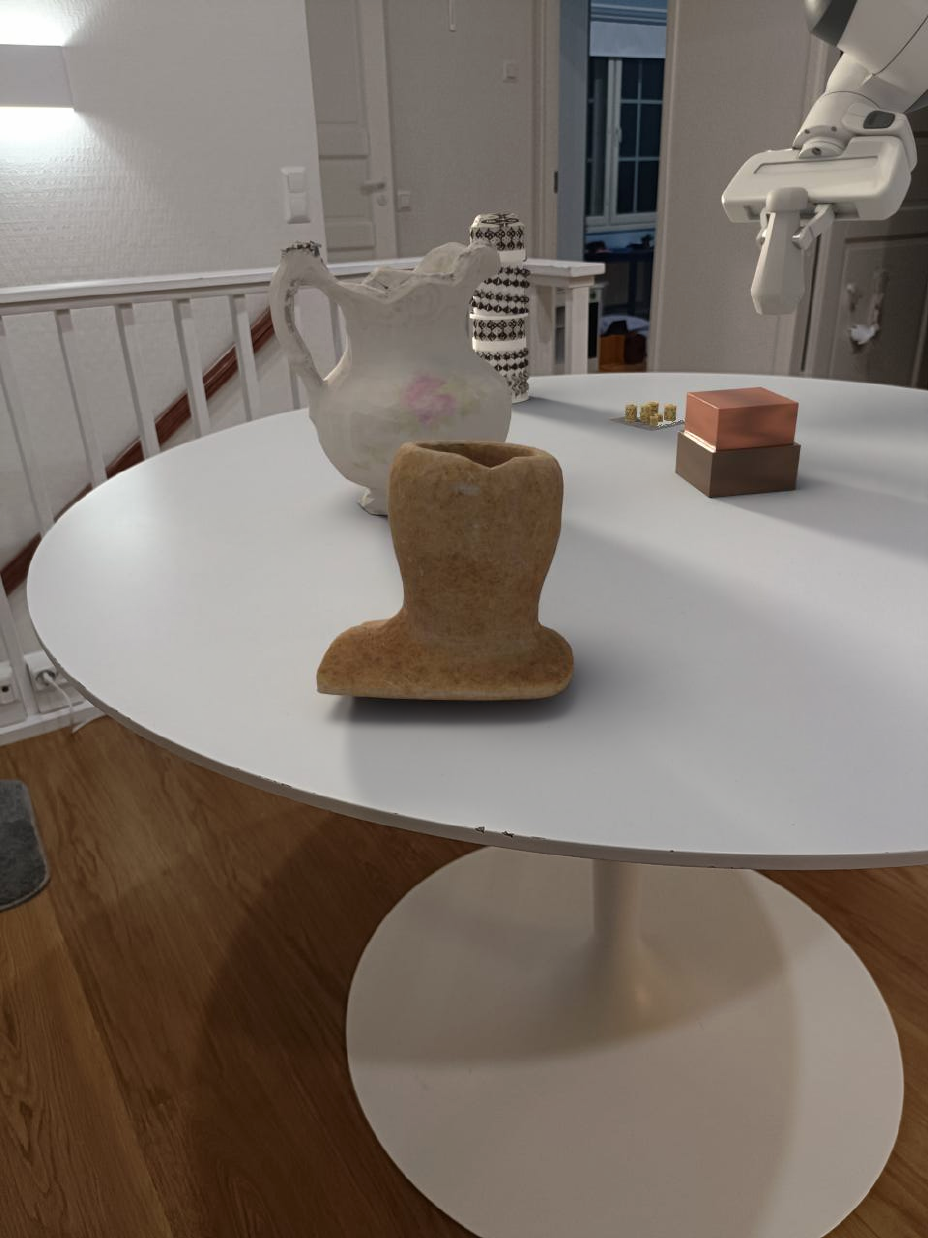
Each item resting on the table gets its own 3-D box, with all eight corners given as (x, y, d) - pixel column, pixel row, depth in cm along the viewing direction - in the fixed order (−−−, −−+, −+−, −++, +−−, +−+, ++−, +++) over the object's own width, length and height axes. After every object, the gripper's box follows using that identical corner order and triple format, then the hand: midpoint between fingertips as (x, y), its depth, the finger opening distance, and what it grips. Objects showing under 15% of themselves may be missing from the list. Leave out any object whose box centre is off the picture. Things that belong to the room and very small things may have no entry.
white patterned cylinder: (464, 394, 134) (457, 214, 123) (523, 389, 136) (521, 211, 125) (475, 407, 126) (469, 215, 115) (538, 401, 128) (537, 212, 117)
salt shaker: (739, 314, 102) (749, 189, 96) (766, 308, 105) (777, 187, 99) (785, 317, 98) (798, 186, 92) (812, 310, 101) (826, 184, 95)
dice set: (622, 420, 116) (623, 405, 115) (651, 413, 118) (651, 399, 117) (650, 426, 112) (650, 411, 111) (678, 420, 114) (679, 405, 114)
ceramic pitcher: (352, 563, 77) (333, 259, 65) (265, 494, 91) (236, 233, 79) (546, 511, 88) (561, 241, 75) (442, 457, 102) (440, 222, 89)
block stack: (754, 465, 95) (763, 385, 91) (795, 489, 87) (806, 403, 83) (675, 472, 94) (680, 391, 90) (708, 497, 86) (716, 410, 82)
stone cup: (573, 632, 61) (576, 416, 54) (574, 726, 50) (578, 471, 44) (359, 630, 63) (337, 420, 56) (316, 720, 52) (283, 474, 46)
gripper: (745, 130, 104) (691, 225, 103) (921, 113, 90) (861, 223, 88) (762, 171, 109) (710, 263, 107) (932, 161, 94) (876, 267, 93)
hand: (780, 245), depth 98 cm, fingers closed on salt shaker, 3 cm apart
